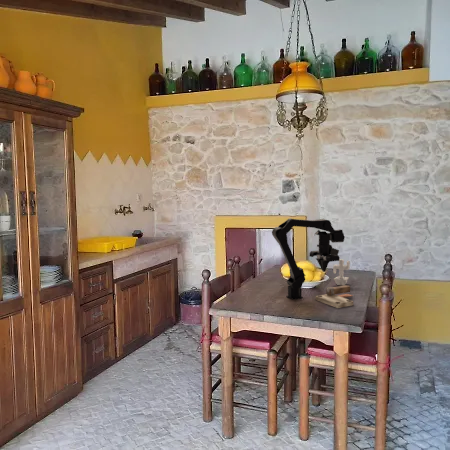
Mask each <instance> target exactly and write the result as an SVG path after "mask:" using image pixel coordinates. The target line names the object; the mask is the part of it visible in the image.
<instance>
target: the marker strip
mask: <svg viewBox="0 0 450 450" xmlns="http://www.w3.org/2000/svg"><path fill="white" fill-rule="evenodd" d="M337 296H340V297H343V298H350V297H353V294H349V293H342V294H337Z"/></svg>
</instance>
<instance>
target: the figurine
mask: <svg viewBox="0 0 450 450" xmlns="http://www.w3.org/2000/svg"><path fill="white" fill-rule="evenodd" d="M344 263H345V259H341V258H340V260H339V261H338V264H333V268H332V271H333V272H332V273H333V274H337V270H339V271H338V276H335V277H334V278H333V280H334V282H335V284H336V285H337V286H344V285H347V283H348V280H349V278H350V277H347V276H344V273H345V272H344V271H349V270H350V269H351V268H350V267H351V266H350V260H347V261H346V264H344Z"/></svg>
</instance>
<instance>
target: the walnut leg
mask: <svg viewBox="0 0 450 450" xmlns="http://www.w3.org/2000/svg"><path fill="white" fill-rule="evenodd" d="M325 292H326V293H325V294H327V295H342V294H347V293H351V285H347V284H345V285H337V286H334V287H333V286H332V287H331V286H329V287H326V291H325Z"/></svg>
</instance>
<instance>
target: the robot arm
mask: <svg viewBox="0 0 450 450" xmlns="http://www.w3.org/2000/svg"><path fill="white" fill-rule="evenodd" d="M294 227H300V228H314V229H317V231H315V232H314V235H317V236H318V244H316V247H318V250H311V251H310V252H309V257H311V258H314V257H315V256H316V258H315V260H316V261H317V263H318V265H319V267H320V269H321V272H322V273H325V272H326V270H327V268H328V265H329V263H331V262H339V260H340V259H341V258H340V255H338V254H339V253H340V250H339V249H337V248H333V245H332V244H331V243H344V241H345V233H344V232H343V231H344V230H343V229H334V227H333V226H332V222H331V220H329V219H324V218H319V219H313V220H311V219H300V218H299V219H297V218H290V217H289V218H288V219H286V220H285V221H284V222H283V223H281V224H279V225H278V226H275V227H274V228H273V229H272V231H271V234H272V236H273V238H274V240H275V241H276V243H277V244H278V245H279V247H280V250H281V251H282V253H283V256H284V259H285V261H286V263H287V265H288V268H289V276H290V277H289V278H288V279H287V280H286V284H287V285H288V286H287V295H286V298H288V299H291V300H298V299H303V298H304V297H303V296H302V293H303V292H302V291H303V290H302V286H303V285H304V284H305V280H306V274H305V271H304V269H303V268H302V267H300V266H298V264H297V262H296V259H295V257H294V255H293V252H292V250H291V247H290V245H289V243H288V234H289V232H290V231H291V230H292V229H293V228H294ZM330 242H331V243H330Z"/></svg>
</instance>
